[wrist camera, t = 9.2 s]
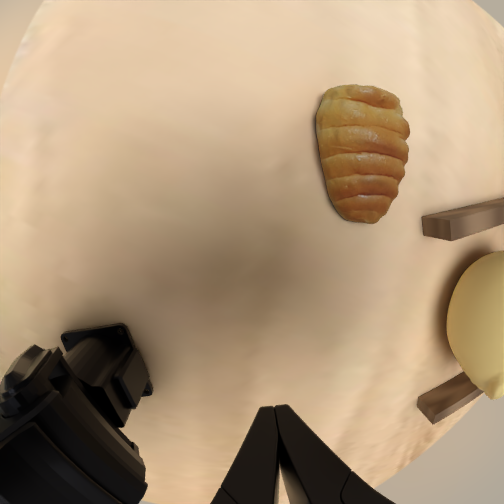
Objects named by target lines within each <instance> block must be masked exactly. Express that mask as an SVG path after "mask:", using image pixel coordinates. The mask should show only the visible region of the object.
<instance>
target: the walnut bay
mask: <svg viewBox="0 0 504 504" xmlns="http://www.w3.org/2000/svg"><path fill="white" fill-rule="evenodd" d="M422 223H423V233H424V236H429V237H434V238H439V239H443V240H448V241H454V240H457V239H460V238H463V237H466V236H469V235H472V234H475V233H478V232H481V231H484V230H487V229H490V228H493V227H496V226H499V225H501V224H504V198H501V199H496V200H492V201H488V202H483V203H479V204H475V205H471V206H466V207H462V208H458V209H453V210H449V211H445V212H441V213H436V214H432V215H428V216H423V217H422ZM483 392H484V391H482V390H480V389H479V388H478V387H477V386H476V385H475V384H473V383H472V382H471V380H470V378H469V377H468V376H467V375H466V373H465V372H463V373H461V374H459V375H458V376H456V377H454V378H453V379H451V380H449V381H447V382H446V383H444V384H442V385H440V386H439V387H437V388H435V389H433V390H431V391H429V392H427V393H425V394H423V395H421V396H419V397H418V404H417V407H418V408H419V409H420V411H421V412H422V413H423V414H424V415H425V416H426V417H427V419H428V420H429V421H430V422H431V423H432V424H435V423H437V422H439V421H440V420H442V419H444V418H445V417H447V416H449V415H450V414H452V413H454V412H455V411H457V410H458V409H460V408H461V407H463V406H465V405H466V404H468V403H469V402H470V401H472V400H473V399H475V398H476V397H478V396H479V395H480V394H482V393H483Z"/></svg>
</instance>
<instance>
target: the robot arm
mask: <svg viewBox="0 0 504 504" xmlns="http://www.w3.org/2000/svg"><path fill="white" fill-rule="evenodd" d="M119 328H121V329H122V330H123V331H124V332H121V331H120V330H119ZM65 336H66V337H67V338H68V340H67V339H66V337H65ZM61 340H62V342H63V345H64V347H65V349H66V351H67V353H66V354H65V355H64V356H62V355H63V353H62V351H61V350H60V348H59V347H58V346H57V347H55V348H53V349H51V350H50V349H48V350H45V349H42V348H40V347H38V346H37V345H33V346H31V347H29V348H28V349H27V350H26V351H24V352H23V353H22V354H21V355H20V356H19V357H18V358H17V359H16V360H15V361H14V362H13V363H12V365H11V366H10V368H9V369H8V371H7V372H6V374H5V376H4V378H3V379H2V381H1V384H0V504H138V503H139V502H140V501H141V499H142V498H143V497H144V495H145V492H146V490H147V487H148V484H147V483H146V482H145V471H146V468H145V465H144V462H143V459H142V458H141V457H140V456H139V448H138V446H137V445H136V444H135V443H134V442H131V441H130V440H129V439H128V438H127V437H126V436H125V435H124V434H123V433H122V432H121V430H120V429H119V428H123V427H124V426H125V424H126V421H127V419H128V417H129V414H130V412H131V409H136V407H137V405H138V403H139V400H140V398H141V397H144V396H151V395H152V393H153V387H152V385H151V383H150V381H149V374H148V372H147V369H146V367H145V365H144V362H143V360H142V358H141V355H140V353H139V350H138V349H136V348H135V345H134V343H133V340H132V338H131V335H130V333H129V330H128V328H127V326H126V325H125V324H123V323H118V324H112V325H106V326H100V327H94V328H87V329H80V330H74V331H66V332H64V333H63V334H62V335H61ZM145 389H147V390H149V391H146V390H145ZM279 464H280V466H279ZM280 470H281V474H282V477H283V481H284V485H285V488H286V492H287V495H288V498H289V502H290V504H395V503H394V502H392V501H391V500H389V499H387V498H386V497H384V496H383V495H381V494H380V493H379V492H377V491H376V490H374V489H373V488H372V487H371V486H369V485H368V484H367V483H366V482H365V481H363V480H362V479H361V478H360V477H359V476H358V475H357V474H356V473H355V472H354V471H351V469H350V468H349V467H348V466H347V465H346V464H345V463H344V462H343V461H342V460H341V459H340V458H339V457H338V456H337V455H336V454H335V453H334V452H333V451H332V450H331V449H330V448H329V447H328V446H327V445H326V444H325V443H324V442H323V441H322V440H321V439H320V438H319V437H318V436H317V435H316V434H315V433H314V432H313V431H312V430H311V429H310V428H309V427H308V426H307V424H306V423H305V422H304V421H303V420H302V419H301V418H300V417H299V416H298V415H297V414H296V413H295V412H294V410H293V409H292V408H291V407H290V406H289V405H287V404H284V405H276V406H275V407H273V406H265V407H260V408H259V410H258V412H257V414H256V417H255V419H254V421H253V423H252V425H251V427H250V429H249V431H248V433H247V435H246V438H245V440H244V442H243V444H242V446H241V448H240V450H239V452H238V454H237V456H236V458H235V460H234V462H233V463H232V465H231V467H230V469H229V471H228V473H227V475H226V477H225V479H224V481H223V482H222V484H221V488H219V490H218V491H217V493H216V495H215V497H214V498H213V500H212V502H211V503H210V504H278V500H279V477H280Z"/></svg>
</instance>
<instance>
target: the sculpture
mask: <svg viewBox="0 0 504 504" xmlns="http://www.w3.org/2000/svg"><path fill="white" fill-rule="evenodd" d="M447 336H448V341H449V344H450V347H451V349H452V352H453V354H454V355H455V357H456V359H457V361H458V362H459V364H460V366H461V367H462V369H463V371H464V372H465V373H466V375H467V376H468V377H469V378H470V380H471V382H472V383H473V384H475V385H476V386H477V387H478V388H479V389H480V390H482V391H484V392H485V394H486V395H487V396H488V397H489V398H490V399H492V400H493V399H498V398H501V397H502V396H503V395H504V251H497V252H493V253H490V254H488V255H485V256H483V257H482V258H480V259H478V260H477V261H475V262H474V263H473V264H472V265H471V266H469V267H468V268H467V270H466V271H465V272H464V273H463V275H462V276H461V278H460V279H459V281H458V283H457V285H456V287H455V289H454V292H453V295H452V297H451V301H450V304H449V309H448V315H447Z"/></svg>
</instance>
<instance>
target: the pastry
mask: <svg viewBox="0 0 504 504" xmlns="http://www.w3.org/2000/svg"><path fill="white" fill-rule="evenodd" d="M402 115H403V112H402V108H401V106H400V100H399V99H398V98H397V97H396V96H395V95H394V94H392V93H390V92H388V91H385V90H383V89H380V88H377V87H374V86H360V85H342V86H337V87H334V88H330V89H328V90H327V91H326V92H325V94H324V96H323V99H322V102H321V105H320V107H319V109H318V111H317V114H316V134H317V139H318V143H319V152H320V159H321V163H322V168H323V172H324V176H325V181H326V186H327V190H328V194H329V197H330V199H331V201H332V203H333V205H334V206H335V208H336V210H337V212H338V213H339V214H340V215H341V216H342V217H343V218H344V219H346V220H348V221H353V222H363V223H368V224H374V223H376V222H378V221H379V219H380V218H381V217H382V216H384V215H385V214H386V213H387V211H388V209H389V207H390V205H391V203H392V201H393V200H394V199H395V198H396V197H397V195H398V185H399V183H400V181H401V180H402V178H403V177H404V175H405V170H404V165H405V164H406V163H407V161H408V152H409V148H408V145H407V143H406V142H405V140H406V139H407V138H408V137H409V135H410V128H409V124H408V122H407V121H406V120H405V119H404V118H403V116H402Z"/></svg>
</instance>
